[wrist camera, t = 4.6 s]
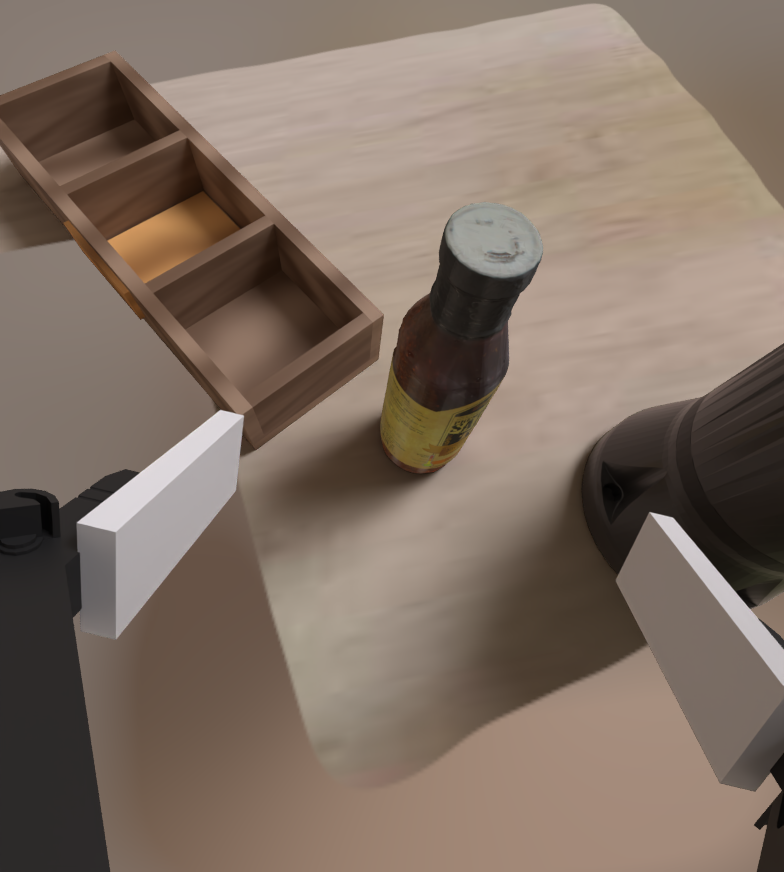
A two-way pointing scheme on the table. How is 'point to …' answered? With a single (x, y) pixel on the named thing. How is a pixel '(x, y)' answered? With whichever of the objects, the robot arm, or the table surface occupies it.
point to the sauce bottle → (457, 336)
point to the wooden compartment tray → (190, 244)
